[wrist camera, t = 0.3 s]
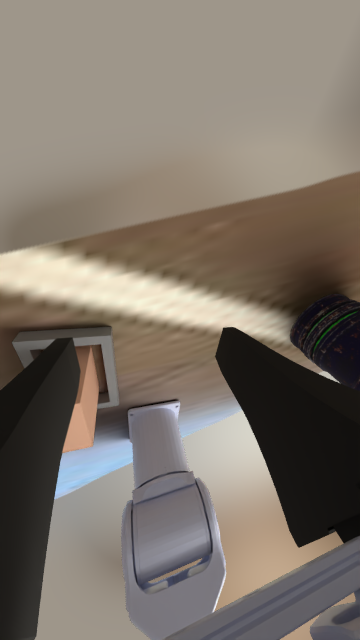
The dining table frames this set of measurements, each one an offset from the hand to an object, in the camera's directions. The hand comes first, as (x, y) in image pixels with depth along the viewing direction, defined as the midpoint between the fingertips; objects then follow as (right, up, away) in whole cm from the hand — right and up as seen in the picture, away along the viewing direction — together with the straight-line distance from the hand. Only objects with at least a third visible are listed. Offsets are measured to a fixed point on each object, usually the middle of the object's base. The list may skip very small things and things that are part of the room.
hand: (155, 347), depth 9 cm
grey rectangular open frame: (-10, -4, +12) cm, 16 cm away
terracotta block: (-10, -4, +12) cm, 17 cm away
